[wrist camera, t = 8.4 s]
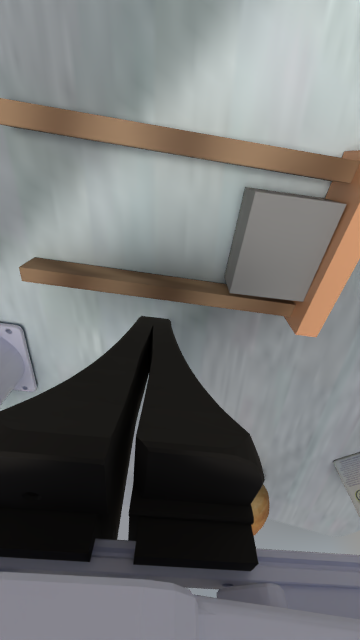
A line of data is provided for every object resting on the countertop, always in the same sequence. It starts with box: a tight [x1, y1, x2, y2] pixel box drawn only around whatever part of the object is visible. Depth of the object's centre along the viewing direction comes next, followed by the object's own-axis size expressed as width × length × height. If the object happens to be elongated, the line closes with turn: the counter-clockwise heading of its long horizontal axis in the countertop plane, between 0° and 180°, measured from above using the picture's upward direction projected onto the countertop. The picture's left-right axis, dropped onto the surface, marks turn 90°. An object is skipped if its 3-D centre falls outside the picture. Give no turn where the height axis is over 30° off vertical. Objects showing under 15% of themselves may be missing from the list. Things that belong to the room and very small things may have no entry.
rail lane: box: [0, 98, 360, 337], centre depth 15 cm, size 20×11×4 cm, turn 82°
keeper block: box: [224, 187, 346, 302], centre depth 16 cm, size 5×6×3 cm
